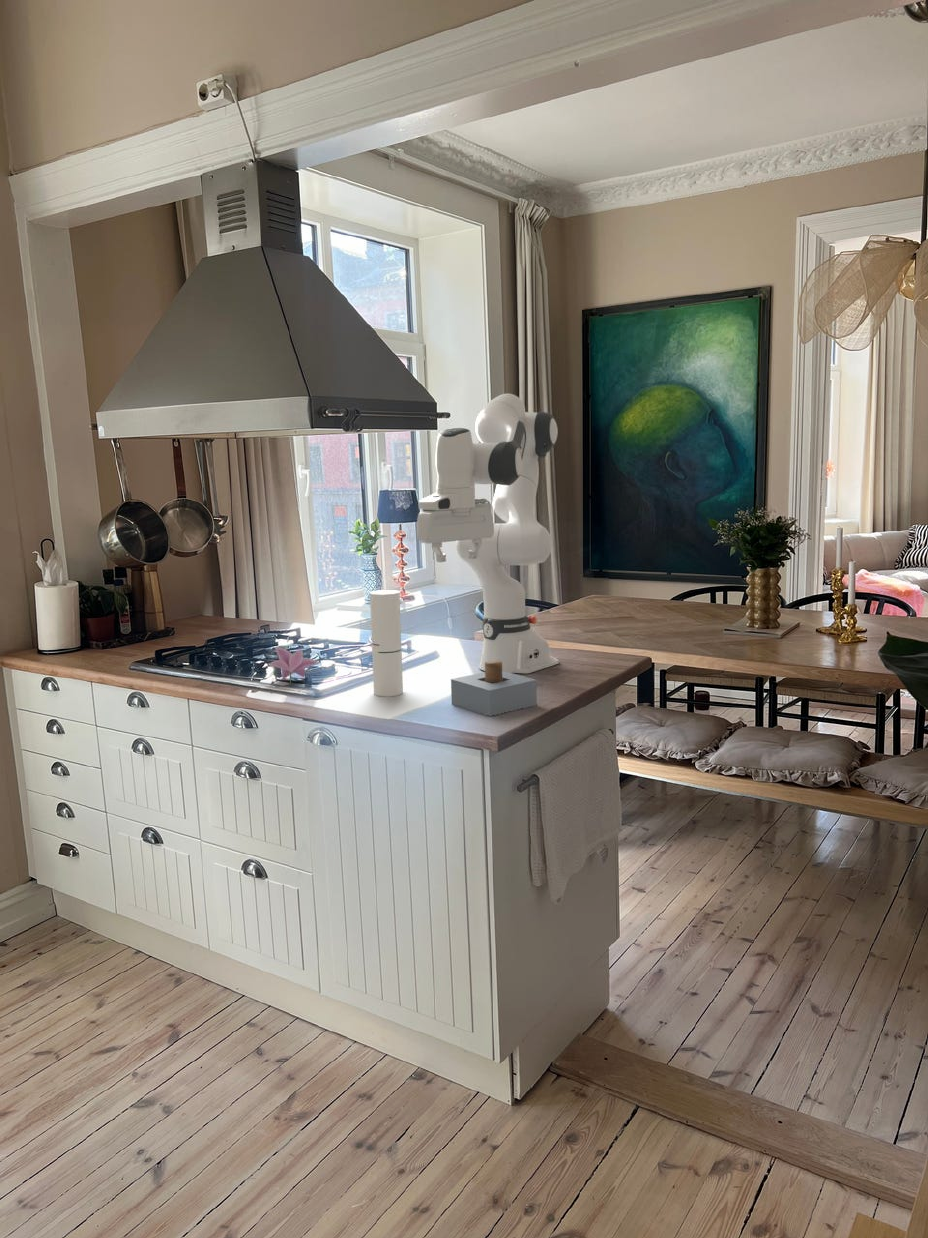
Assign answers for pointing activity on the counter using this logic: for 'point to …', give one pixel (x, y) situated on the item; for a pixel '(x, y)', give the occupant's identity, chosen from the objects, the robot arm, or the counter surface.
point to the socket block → (494, 693)
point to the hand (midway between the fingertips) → (457, 560)
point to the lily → (292, 662)
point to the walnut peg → (493, 671)
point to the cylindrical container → (386, 642)
